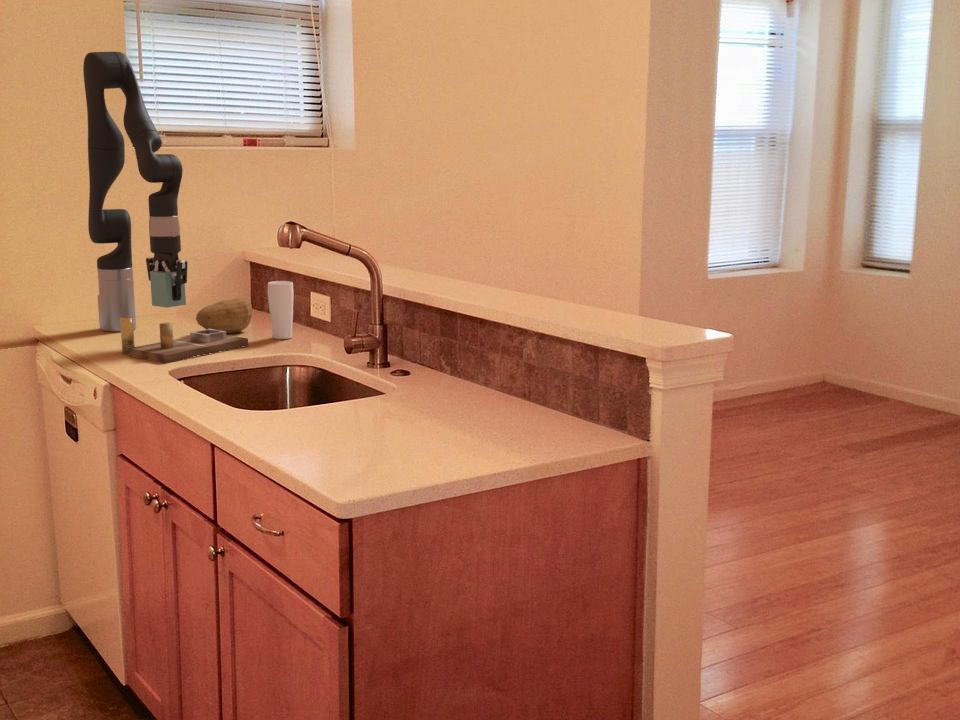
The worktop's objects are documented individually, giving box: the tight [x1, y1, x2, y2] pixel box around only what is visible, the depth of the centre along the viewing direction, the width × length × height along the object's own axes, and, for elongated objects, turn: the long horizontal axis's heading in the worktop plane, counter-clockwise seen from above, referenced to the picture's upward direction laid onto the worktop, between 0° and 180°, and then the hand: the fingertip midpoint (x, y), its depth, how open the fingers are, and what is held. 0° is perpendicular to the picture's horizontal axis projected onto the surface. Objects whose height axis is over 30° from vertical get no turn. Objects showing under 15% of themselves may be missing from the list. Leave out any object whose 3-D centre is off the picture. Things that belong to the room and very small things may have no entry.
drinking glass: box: [267, 280, 295, 340], centre depth 287 cm, size 7×7×15 cm
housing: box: [149, 271, 187, 309], centre depth 277 cm, size 6×6×9 cm
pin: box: [120, 317, 136, 355], centre depth 268 cm, size 3×3×9 cm
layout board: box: [129, 322, 249, 364], centre depth 271 cm, size 14×26×8 cm, turn 144°
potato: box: [195, 297, 253, 334], centre depth 295 cm, size 9×16×9 cm, turn 117°
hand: (168, 298), depth 278 cm, fingers closed on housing, 6 cm apart
